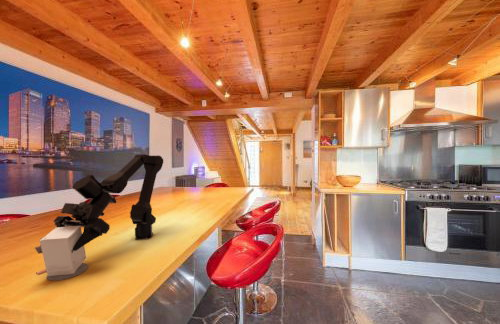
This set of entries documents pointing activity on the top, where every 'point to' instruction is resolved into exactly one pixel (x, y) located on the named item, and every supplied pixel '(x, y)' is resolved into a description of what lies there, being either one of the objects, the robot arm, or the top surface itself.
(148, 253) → the top surface
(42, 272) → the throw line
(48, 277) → the disc
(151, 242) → the top surface
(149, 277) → the top surface
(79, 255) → the supplement box
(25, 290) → the top surface
